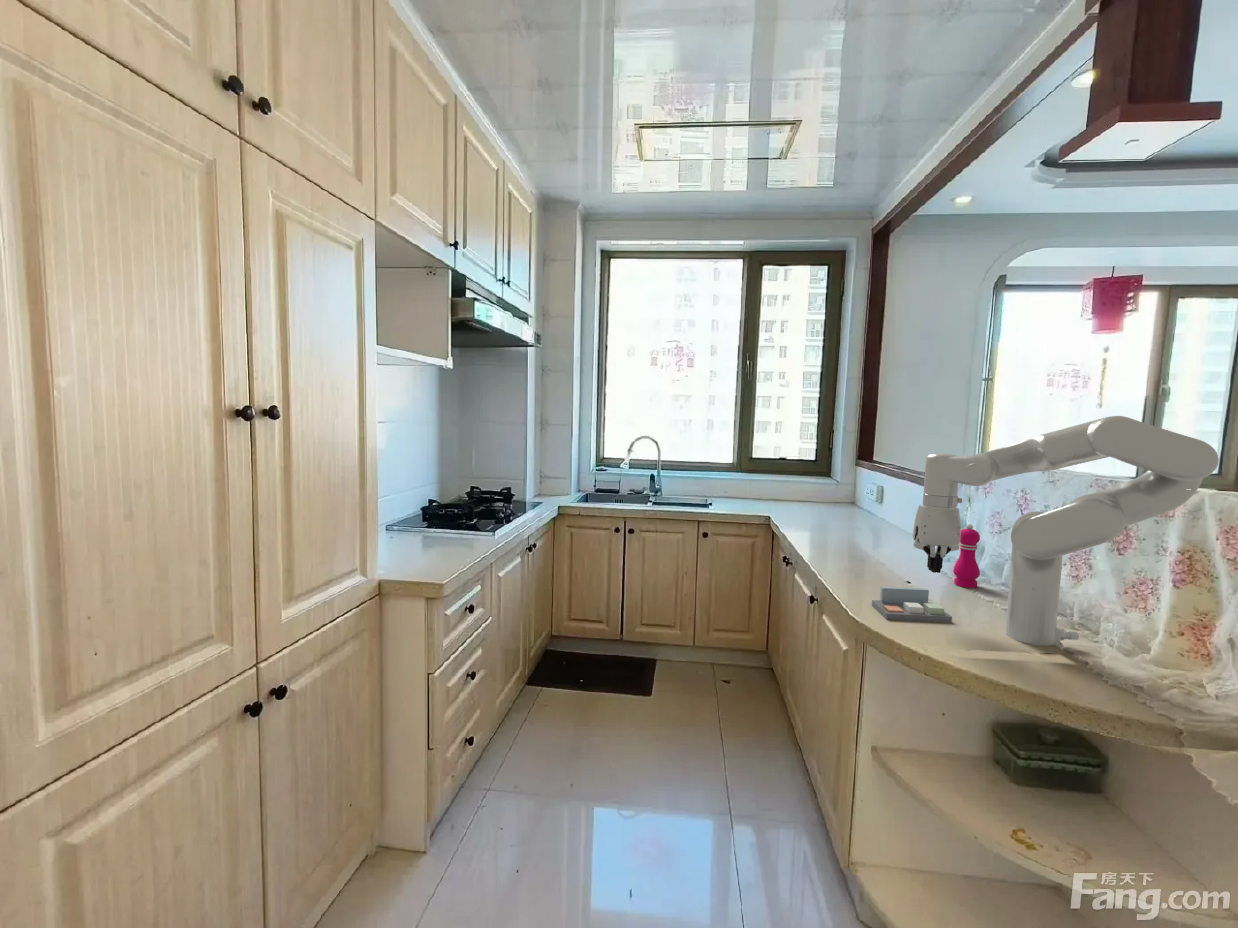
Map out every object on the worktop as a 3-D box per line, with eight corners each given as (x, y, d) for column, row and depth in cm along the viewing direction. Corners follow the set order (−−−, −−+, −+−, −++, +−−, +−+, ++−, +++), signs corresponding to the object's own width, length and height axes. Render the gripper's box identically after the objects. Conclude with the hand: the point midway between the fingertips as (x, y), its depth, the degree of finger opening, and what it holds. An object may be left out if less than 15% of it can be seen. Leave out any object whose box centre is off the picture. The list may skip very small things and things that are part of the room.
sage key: (937, 614, 144) (937, 603, 143) (943, 619, 140) (944, 608, 140) (922, 614, 144) (923, 603, 144) (928, 619, 140) (929, 607, 140)
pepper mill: (983, 589, 171) (987, 526, 169) (957, 587, 172) (961, 525, 171) (973, 582, 178) (977, 522, 176) (948, 581, 179) (952, 521, 178)
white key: (917, 613, 144) (917, 602, 144) (923, 618, 141) (923, 607, 140) (902, 613, 145) (903, 602, 144) (908, 618, 141) (909, 606, 141)
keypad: (932, 613, 149) (933, 588, 148) (951, 628, 138) (953, 601, 138) (871, 610, 150) (872, 586, 150) (885, 624, 140) (887, 598, 139)
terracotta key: (897, 616, 145) (897, 606, 145) (902, 621, 141) (903, 610, 141) (883, 616, 145) (883, 605, 145) (888, 621, 142) (888, 610, 141)
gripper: (962, 500, 142) (957, 568, 144) (903, 498, 144) (898, 565, 146) (978, 505, 135) (972, 577, 137) (915, 502, 137) (910, 574, 138)
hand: (934, 571), depth 141 cm, fingers closed
